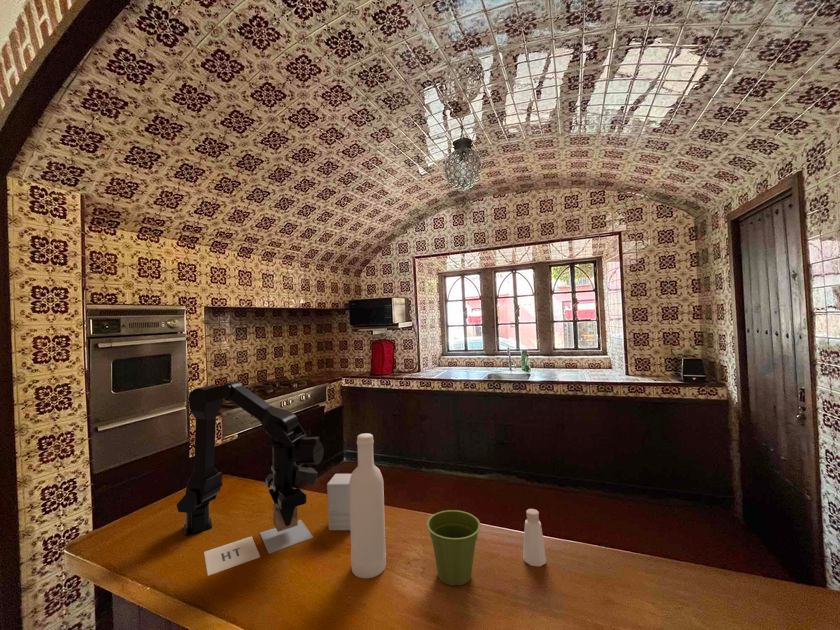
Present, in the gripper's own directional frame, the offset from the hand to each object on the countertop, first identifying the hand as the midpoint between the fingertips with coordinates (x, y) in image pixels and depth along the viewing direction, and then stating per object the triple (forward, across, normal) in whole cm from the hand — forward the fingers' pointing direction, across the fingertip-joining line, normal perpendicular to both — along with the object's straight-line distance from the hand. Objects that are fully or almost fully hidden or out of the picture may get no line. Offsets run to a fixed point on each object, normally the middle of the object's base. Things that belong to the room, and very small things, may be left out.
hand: (285, 521), depth 97 cm
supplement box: (+4, -4, -15) cm, 16 cm away
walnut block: (+1, 0, 0) cm, 1 cm away
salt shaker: (+4, -46, -44) cm, 64 cm away
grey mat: (+4, 0, 0) cm, 4 cm away
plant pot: (+4, -39, -26) cm, 47 cm away
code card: (+4, 0, +13) cm, 13 cm away
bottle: (+4, -25, -12) cm, 28 cm away
